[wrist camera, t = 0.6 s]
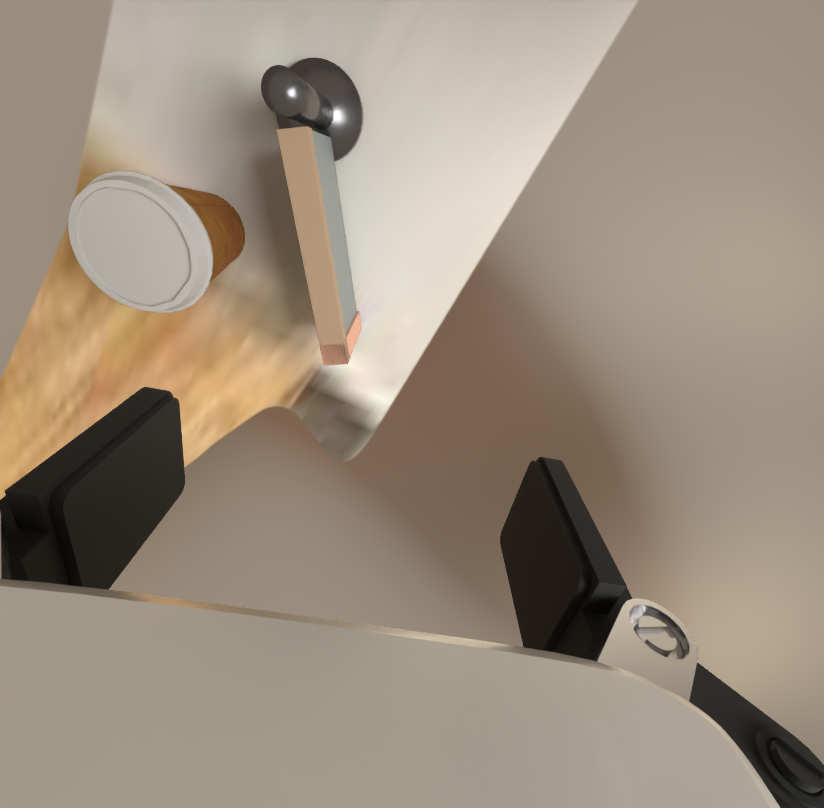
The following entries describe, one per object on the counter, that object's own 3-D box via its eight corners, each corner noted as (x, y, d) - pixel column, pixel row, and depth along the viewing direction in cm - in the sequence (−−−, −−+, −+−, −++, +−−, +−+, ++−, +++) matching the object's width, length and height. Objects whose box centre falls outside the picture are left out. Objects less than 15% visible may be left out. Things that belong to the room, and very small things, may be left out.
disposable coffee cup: (190, 291, 42) (112, 330, 31) (139, 187, 37) (29, 192, 27) (277, 268, 41) (227, 301, 30) (236, 159, 36) (159, 152, 26)
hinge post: (269, 65, 33) (206, 20, 23) (356, 55, 33) (328, 5, 23) (289, 166, 36) (240, 163, 27) (368, 158, 36) (348, 153, 26)
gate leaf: (310, 139, 34) (276, 129, 26) (333, 137, 34) (307, 126, 26) (342, 329, 42) (323, 365, 34) (361, 328, 42) (347, 363, 34)
